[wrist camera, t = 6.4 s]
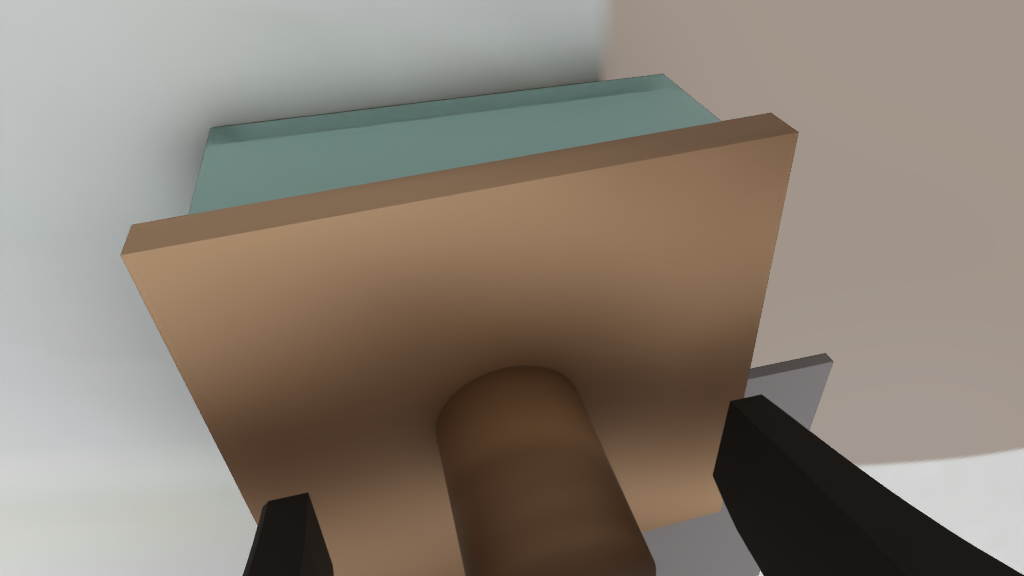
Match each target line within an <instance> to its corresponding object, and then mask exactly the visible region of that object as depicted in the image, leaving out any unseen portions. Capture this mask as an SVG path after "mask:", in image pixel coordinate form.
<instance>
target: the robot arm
mask: <svg viewBox="0 0 1024 576" xmlns="http://www.w3.org/2000/svg"><path fill="white" fill-rule="evenodd" d="M712 476H713V478H714V480H715V483H716V485H717V487H718V490H719V492H720V494H721V497H722V499H723V501H724V503H725V506H726V508H727V510H728V512H729V514H730V516H731V519H732V521H733V523H734V525H735V527H736V529H737V531H738V533H739V535H740V536H741V538H742V540H743V541H744V543H745V545H746V547H747V548H748V550H749V552H750V553H751V555H752V557H753V558H754V560H755V562H756V563H757V565H758V567H759V568H760V570H761V572H762V573H763V575H764V576H1024V575H1022V574H1021V573H1019V572H1017V571H1016V570H1014V569H1012V568H1011V567H1009V566H1007V565H1005V564H1004V563H1002V562H1000V561H999V560H997V559H995V558H994V557H992V556H990V555H988V554H987V553H985V552H983V551H982V550H980V549H978V548H977V547H975V546H973V545H972V544H970V543H968V542H967V541H965V540H964V539H962V538H960V537H959V536H957V535H956V534H954V533H952V532H951V531H949V530H948V529H946V528H945V527H943V526H942V525H940V524H939V523H937V522H936V521H934V520H933V519H931V518H930V517H928V516H927V515H925V514H924V513H922V512H921V511H919V510H918V509H916V508H915V507H913V506H912V505H910V504H909V503H907V502H906V501H904V500H903V499H901V498H900V497H899V496H897V495H896V494H894V493H893V492H891V491H890V490H889V489H887V488H886V487H884V486H883V485H882V484H880V483H879V482H877V481H876V480H875V479H873V478H872V477H870V476H869V475H868V474H866V473H865V472H864V471H862V470H861V469H859V468H858V467H857V466H855V465H854V464H853V463H851V462H850V461H849V460H847V459H846V458H845V457H843V456H842V455H841V454H839V453H838V452H837V451H835V450H834V449H833V448H831V447H830V446H829V445H827V444H826V443H825V442H824V441H822V440H821V439H820V438H818V437H817V436H816V435H814V434H813V433H812V432H810V431H809V430H808V429H807V428H805V427H804V426H803V425H801V424H800V423H799V422H797V421H796V420H795V419H794V418H792V417H791V416H790V415H788V414H787V413H786V412H785V411H783V410H782V409H781V408H779V407H778V406H777V405H775V404H774V403H773V402H771V401H770V400H769V399H767V398H766V397H765V396H763V395H762V394H761V395H756V396H751V397H747V398H742V399H737V400H733V401H730V404H729V408H728V412H727V416H726V420H725V425H724V429H723V433H722V437H721V441H720V446H719V450H718V454H717V458H716V463H715V467H714V471H713V475H712ZM243 576H334V572H333V564H332V561H331V558H330V555H329V552H328V549H327V546H326V543H325V540H324V537H323V534H322V531H321V528H320V525H319V522H318V519H317V516H316V513H315V510H314V507H313V504H312V502H311V499H310V496H309V493H308V492H307V493H303V494H298V495H294V496H289V497H284V498H280V499H275V500H270V501H268V502H267V503H266V504H265V505H264V506H263V507H262V511H261V515H260V519H259V523H258V527H257V531H256V534H255V538H254V541H253V545H252V548H251V551H250V554H249V558H248V561H247V564H246V567H245V570H244V573H243Z"/></svg>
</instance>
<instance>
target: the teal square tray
mask: <svg viewBox="0 0 1024 576" xmlns="http://www.w3.org/2000/svg"><path fill="white" fill-rule="evenodd" d="M715 122H721V120H720V119H718V118H717V117H716V116H715V115H713V114H712V113H711V112H709V111H708V110H707V109H706V108H705V107H703V106H702V105H701V104H700V103H698V102H697V101H696V100H695V99H693V98H692V97H691V96H690V95H689V94H687V93H686V92H685V91H684V90H682V89H681V88H680V87H679V86H678V85H676V84H675V83H674V82H673V81H671V80H670V79H669V78H668V77H666V76H665V75H664V74H657V75H649V76H641V77H632V78H624V79H615V80H607V81H599V82H590V83H582V84H574V85H565V86H557V87H549V88H540V89H532V90H524V91H515V92H507V93H499V94H490V95H482V96H474V97H465V98H457V99H449V100H440V101H432V102H424V103H416V104H407V105H399V106H391V107H382V108H374V109H366V110H357V111H349V112H341V113H332V114H324V115H316V116H307V117H299V118H291V119H282V120H274V121H266V122H257V123H249V124H241V125H232V126H224V127H216V128H210V132H209V136H208V140H207V144H206V148H205V152H204V156H203V160H202V164H201V168H200V172H199V176H198V180H197V184H196V188H195V192H194V195H193V199H192V203H191V207H190V211H189V215H190V214H196V213H202V212H207V211H213V210H219V209H225V208H230V207H236V206H242V205H247V204H253V203H259V202H264V201H270V200H276V199H282V198H287V197H293V196H299V195H304V194H310V193H316V192H322V191H327V190H333V189H339V188H344V187H350V186H356V185H361V184H367V183H373V182H379V181H384V180H390V179H396V178H401V177H407V176H413V175H418V174H424V173H430V172H436V171H441V170H447V169H453V168H458V167H464V166H470V165H475V164H481V163H487V162H493V161H498V160H504V159H510V158H515V157H521V156H527V155H533V154H538V153H544V152H550V151H555V150H561V149H567V148H572V147H578V146H584V145H590V144H595V143H601V142H607V141H612V140H618V139H624V138H629V137H635V136H641V135H647V134H652V133H658V132H664V131H669V130H675V129H681V128H686V127H692V126H698V125H704V124H709V123H715Z"/></svg>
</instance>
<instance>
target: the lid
mask: <svg viewBox="0 0 1024 576" xmlns="http://www.w3.org/2000/svg"><path fill="white" fill-rule="evenodd" d="M797 138H798V131H796V130H795V129H793V128H792V127H790V126H789V125H788V124H786V123H785V122H783V121H782V120H781V119H779V118H777V117H776V116H775V115H773V114H772V113H766V114H761V115H755V116H750V117H744V118H738V119H732V120H727V121H721V122H715V123H709V124H704V125H698V126H692V127H686V128H681V129H675V130H669V131H664V132H658V133H652V134H647V135H641V136H635V137H629V138H624V139H618V140H612V141H607V142H601V143H595V144H590V145H584V146H578V147H572V148H567V149H561V150H555V151H550V152H544V153H538V154H533V155H527V156H521V157H515V158H510V159H504V160H498V161H493V162H487V163H481V164H475V165H470V166H464V167H458V168H453V169H447V170H441V171H436V172H430V173H424V174H418V175H413V176H407V177H401V178H396V179H390V180H384V181H379V182H373V183H367V184H361V185H356V186H350V187H344V188H339V189H333V190H327V191H322V192H316V193H310V194H304V195H299V196H293V197H287V198H282V199H276V200H270V201H264V202H259V203H253V204H247V205H242V206H236V207H230V208H225V209H219V210H213V211H207V212H202V213H196V214H190V215H185V216H179V217H173V218H168V219H162V220H156V221H150V222H145V223H139V224H133V225H132V226H131V228H130V231H129V234H128V236H127V239H126V242H125V244H124V247H123V250H122V252H121V257H122V259H123V261H124V263H125V265H126V267H127V269H128V271H129V273H130V275H131V277H132V279H133V281H134V283H135V285H136V287H137V289H138V291H139V293H140V295H141V297H142V299H143V301H144V303H145V305H146V307H147V309H148V311H149V313H150V314H151V316H152V318H153V320H154V322H155V324H156V326H157V328H158V330H159V332H160V334H161V336H162V338H163V340H164V342H165V344H166V346H167V348H168V350H169V352H170V354H171V356H172V358H173V360H174V362H175V364H176V366H177V368H178V370H179V372H180V374H181V376H182V378H183V380H184V381H185V383H186V385H187V387H188V389H189V391H190V393H191V395H192V397H193V399H194V401H195V403H196V405H197V407H198V409H199V411H200V413H201V415H202V417H203V419H204V421H205V423H206V425H207V427H208V429H209V431H210V433H211V435H212V437H213V439H214V441H215V443H216V445H217V447H218V448H219V450H220V452H221V454H222V456H223V458H224V460H225V462H226V464H227V466H228V468H229V470H230V472H231V474H232V476H233V478H234V480H235V482H236V484H237V486H238V488H239V490H240V492H241V494H242V496H243V498H244V500H245V502H246V504H247V506H248V508H249V510H250V512H251V513H252V515H253V517H254V519H255V521H256V523H257V525H258V523H259V519H260V515H261V511H262V507H263V506H264V505H265V504H266V503H267V502H268V501H270V500H275V499H280V498H284V497H289V496H294V495H298V494H303V493H307V492H308V493H309V496H310V499H311V502H312V504H313V507H314V510H315V513H316V516H317V519H318V522H319V525H320V528H321V531H322V534H323V537H324V540H325V543H326V546H327V549H328V552H329V555H330V558H331V561H332V564H333V572H334V576H656V565H655V561H654V559H653V557H652V555H651V553H650V550H649V548H648V546H647V544H646V542H645V539H644V537H643V535H642V532H646V531H649V530H653V529H657V528H660V527H664V526H668V525H671V524H675V523H679V522H682V521H686V520H690V519H694V518H697V517H701V516H705V515H708V514H712V513H716V512H719V511H721V507H722V502H723V499H722V497H721V494H720V492H719V490H718V487H717V485H716V483H715V480H714V478H713V476H712V475H713V471H714V467H715V463H716V458H717V454H718V450H719V446H720V441H721V437H722V433H723V429H724V425H725V420H726V416H727V412H728V408H729V404H730V401H733V400H737V399H742V398H744V395H745V391H746V386H747V381H748V376H749V371H750V366H751V361H752V357H753V352H754V347H755V342H756V337H757V332H758V327H759V322H760V318H761V313H762V308H763V303H764V298H765V293H766V288H767V283H768V279H769V274H770V269H771V264H772V259H773V254H774V249H775V244H776V240H777V235H778V230H779V225H780V220H781V216H782V210H783V206H784V201H785V196H786V191H787V186H788V181H789V177H790V172H791V167H792V162H793V157H794V152H795V147H796V142H797Z"/></svg>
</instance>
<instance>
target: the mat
mask: <svg viewBox="0 0 1024 576" xmlns="http://www.w3.org/2000/svg"><path fill="white" fill-rule="evenodd" d="M832 364H833V361H832V359H831V358H830V357H829V356H828V355H827V354H826V353H824V354H819V355H815V356H809V357H804V358H800V359H795V360H790V361H785V362H780V363H776V364H771V365H766V366H762V367H756V368H752V369H750V371H749V376H748V381H747V386H746V391H745V395H744V398H747V397H751V396H756V395H761V394H762V395H763V396H765V397H766V398H767V399H769V400H770V401H771V402H773V403H774V404H775V405H777V406H778V407H779V408H781V409H782V410H783V411H785V412H786V413H787V414H788V415H790V416H791V417H792V418H794V419H795V420H796V421H797V422H799V423H800V424H801V425H803V426H804V427H805V428H807V429H808V430H810V427H811V424H812V421H813V418H814V416H815V413H816V410H817V407H818V404H819V402H820V399H821V396H822V393H823V390H824V387H825V384H826V382H827V379H828V376H829V373H830V370H831V367H832ZM642 535H643V537H644V539H645V542H646V544H647V546H648V548H649V550H650V553H651V555H652V557H653V559H654V561H655V565H656V576H757V575H759V572H760V568H759V567H758V565H757V563H756V562H755V560H754V558H753V557H752V555H751V553H750V552H749V550H748V548H747V547H746V545H745V543H744V541H743V540H742V538H741V536H740V535H739V533H738V531H737V529H736V527H735V525H734V523H733V521H732V519H731V516H730V514H729V512H728V510H727V508H726V506H725V503H724V501H723V502H722V507H721V511H719V512H716V513H712V514H708V515H705V516H701V517H697V518H694V519H690V520H686V521H682V522H679V523H675V524H671V525H668V526H664V527H660V528H657V529H653V530H649V531H646V532H642Z"/></svg>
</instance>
